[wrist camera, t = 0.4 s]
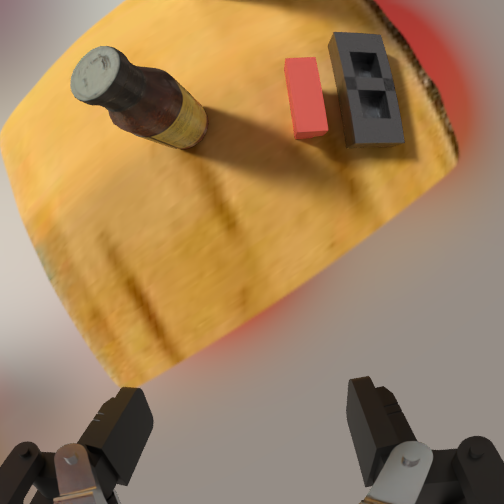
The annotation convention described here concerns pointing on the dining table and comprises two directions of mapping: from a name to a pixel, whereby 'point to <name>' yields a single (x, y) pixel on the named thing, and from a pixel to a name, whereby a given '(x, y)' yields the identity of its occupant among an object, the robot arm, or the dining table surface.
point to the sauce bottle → (139, 98)
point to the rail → (365, 90)
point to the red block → (305, 97)
